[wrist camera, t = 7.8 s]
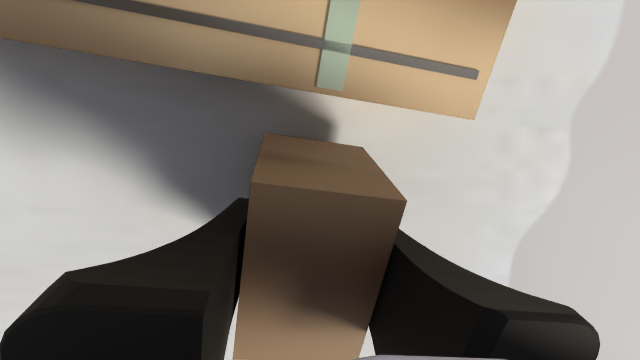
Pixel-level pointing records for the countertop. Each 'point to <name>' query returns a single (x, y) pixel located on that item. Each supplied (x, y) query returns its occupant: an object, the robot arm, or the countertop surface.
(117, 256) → the countertop surface
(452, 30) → the oak board
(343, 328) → the walnut block
